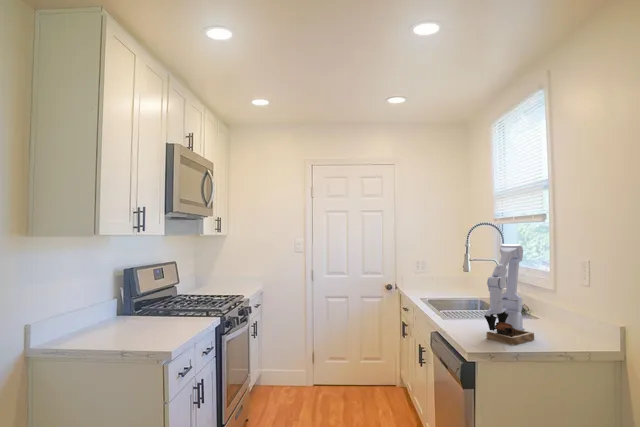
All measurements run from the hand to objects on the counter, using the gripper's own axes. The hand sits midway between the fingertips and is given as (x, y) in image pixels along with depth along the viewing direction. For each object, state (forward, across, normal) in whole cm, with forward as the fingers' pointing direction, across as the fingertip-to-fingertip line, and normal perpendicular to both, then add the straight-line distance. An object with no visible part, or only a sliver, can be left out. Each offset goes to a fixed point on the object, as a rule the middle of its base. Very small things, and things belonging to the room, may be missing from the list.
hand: (496, 329), depth 200 cm
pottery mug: (+3, +1, +5) cm, 6 cm away
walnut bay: (+3, 0, +7) cm, 8 cm away
